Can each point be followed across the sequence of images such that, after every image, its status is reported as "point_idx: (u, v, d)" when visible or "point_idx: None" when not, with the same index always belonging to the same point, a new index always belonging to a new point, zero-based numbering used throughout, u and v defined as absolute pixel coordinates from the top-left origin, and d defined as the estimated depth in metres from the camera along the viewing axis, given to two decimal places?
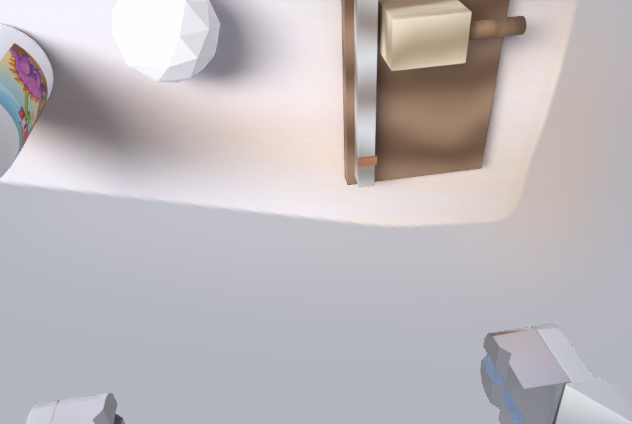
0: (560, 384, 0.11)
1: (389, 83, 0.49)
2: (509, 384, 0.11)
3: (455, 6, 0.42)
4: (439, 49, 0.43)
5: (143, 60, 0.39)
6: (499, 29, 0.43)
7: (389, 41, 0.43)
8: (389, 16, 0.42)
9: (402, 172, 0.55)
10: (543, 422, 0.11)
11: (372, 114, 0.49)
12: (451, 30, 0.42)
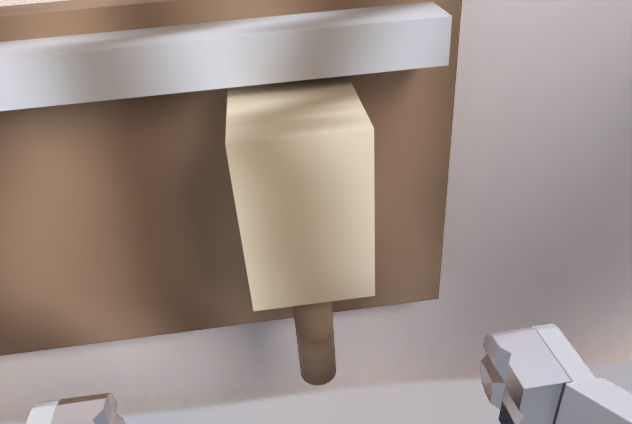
0: (560, 384, 0.11)
1: (133, 124, 0.19)
2: (509, 384, 0.11)
3: None
4: (287, 252, 0.17)
5: None
6: (321, 344, 0.20)
7: (297, 121, 0.15)
8: (360, 111, 0.16)
9: None
10: (543, 422, 0.11)
11: (44, 96, 0.16)
12: (335, 266, 0.17)
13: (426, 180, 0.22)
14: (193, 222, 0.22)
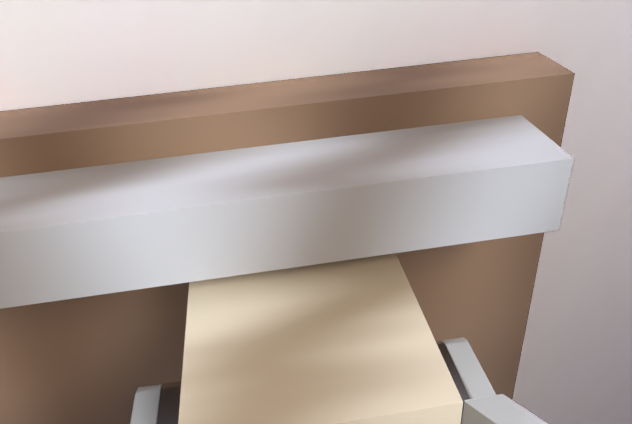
0: None
1: (41, 308, 0.12)
2: None
3: None
4: None
5: None
6: None
7: (313, 371, 0.08)
8: (426, 341, 0.09)
9: None
10: None
11: None
12: None
13: (491, 351, 0.15)
14: None
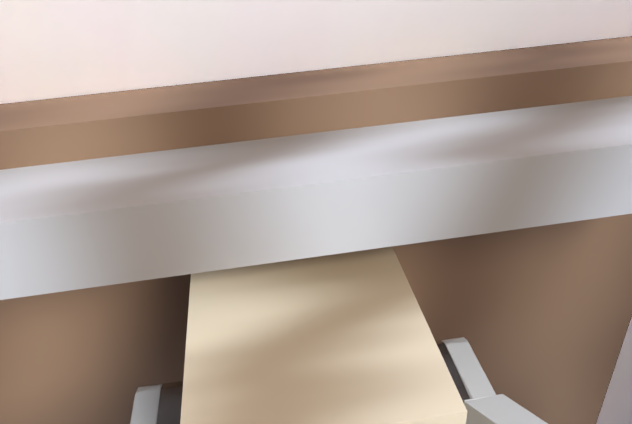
0: None
1: (184, 281, 0.12)
2: None
3: None
4: None
5: None
6: None
7: (316, 380, 0.08)
8: (430, 349, 0.09)
9: None
10: None
11: (46, 278, 0.09)
12: None
13: (598, 329, 0.15)
14: None
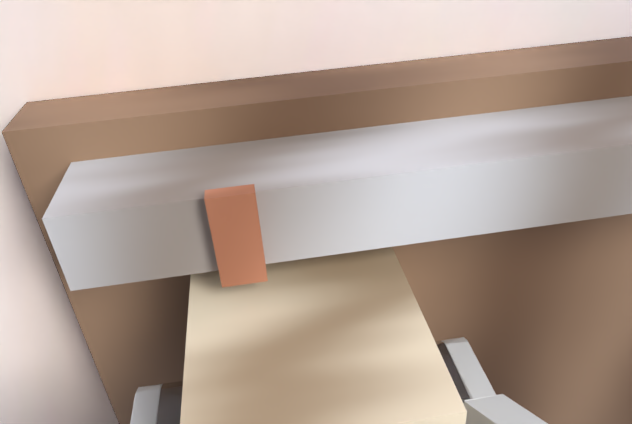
0: None
1: (528, 233, 0.13)
2: None
3: None
4: None
5: None
6: None
7: (315, 380, 0.08)
8: (429, 349, 0.09)
9: (120, 347, 0.13)
10: None
11: (500, 217, 0.10)
12: None
13: None
14: (549, 354, 0.15)
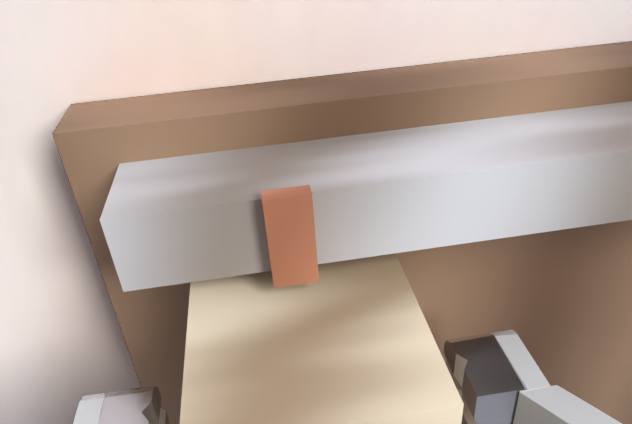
0: (514, 392, 0.10)
1: (565, 233, 0.13)
2: (465, 391, 0.11)
3: None
4: None
5: None
6: None
7: (314, 373, 0.08)
8: (427, 343, 0.09)
9: (159, 348, 0.13)
10: None
11: (548, 217, 0.10)
12: None
13: None
14: (581, 354, 0.15)
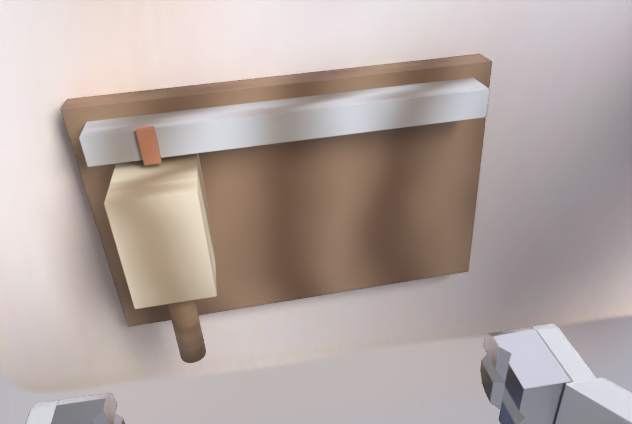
0: (560, 384, 0.11)
1: (284, 156, 0.30)
2: (509, 384, 0.11)
3: (213, 266, 0.28)
4: (152, 268, 0.26)
5: None
6: (189, 332, 0.29)
7: (152, 187, 0.25)
8: (194, 179, 0.25)
9: None
10: (543, 422, 0.11)
11: (250, 140, 0.27)
12: (186, 276, 0.27)
13: (464, 188, 0.33)
14: (312, 220, 0.32)
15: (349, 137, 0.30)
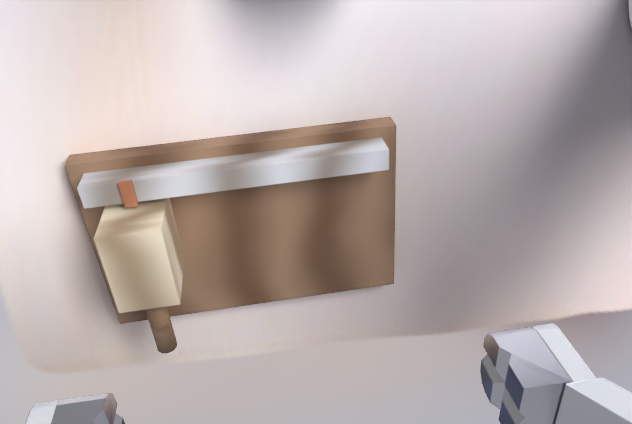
0: (560, 384, 0.11)
1: (236, 196, 0.39)
2: (509, 384, 0.11)
3: (179, 281, 0.38)
4: (131, 284, 0.35)
5: None
6: (162, 330, 0.39)
7: (129, 225, 0.34)
8: (160, 219, 0.34)
9: None
10: (543, 422, 0.11)
11: (204, 188, 0.36)
12: (156, 290, 0.36)
13: (383, 219, 0.42)
14: (261, 243, 0.41)
15: None
